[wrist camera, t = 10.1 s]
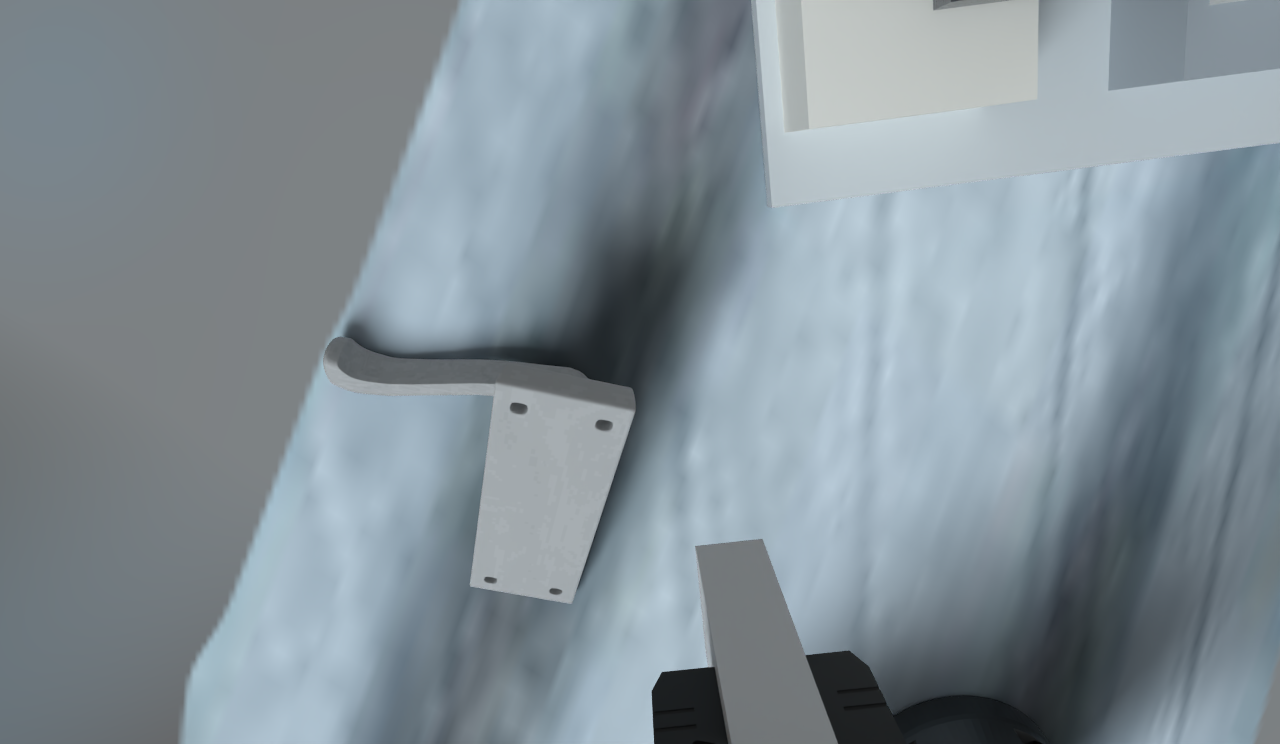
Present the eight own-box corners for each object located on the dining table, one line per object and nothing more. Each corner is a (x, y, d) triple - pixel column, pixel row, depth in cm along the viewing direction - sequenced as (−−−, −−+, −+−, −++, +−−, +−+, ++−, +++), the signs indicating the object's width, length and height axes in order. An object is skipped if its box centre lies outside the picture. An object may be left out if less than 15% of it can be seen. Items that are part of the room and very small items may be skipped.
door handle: (586, 504, 57) (646, 303, 43) (572, 605, 51) (636, 411, 37) (344, 458, 55) (324, 233, 41) (301, 558, 50) (261, 335, 35)
